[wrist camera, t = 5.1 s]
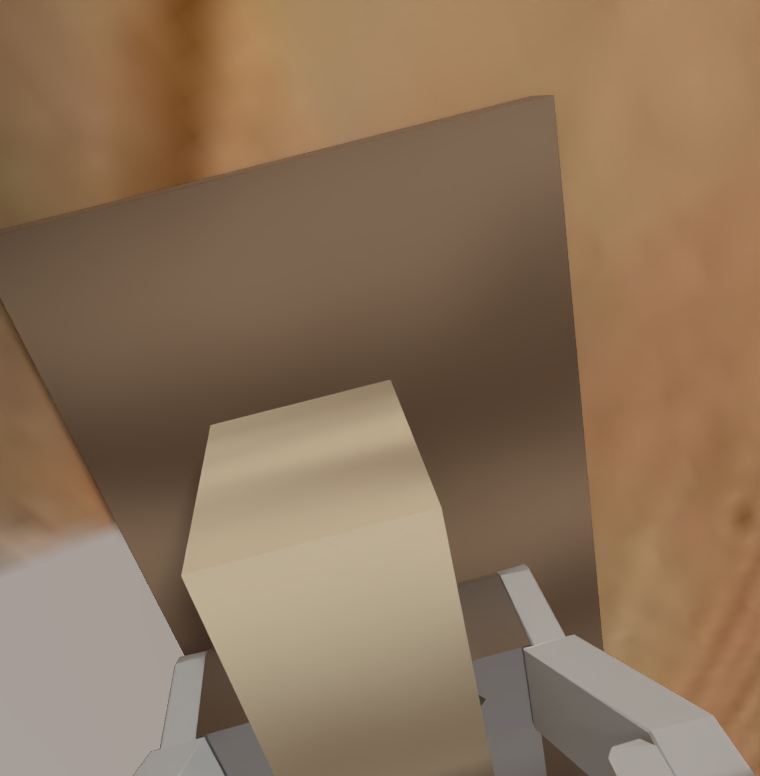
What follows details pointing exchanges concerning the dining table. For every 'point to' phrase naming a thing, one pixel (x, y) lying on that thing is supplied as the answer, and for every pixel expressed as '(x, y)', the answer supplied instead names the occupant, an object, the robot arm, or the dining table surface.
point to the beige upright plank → (340, 596)
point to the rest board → (332, 337)
